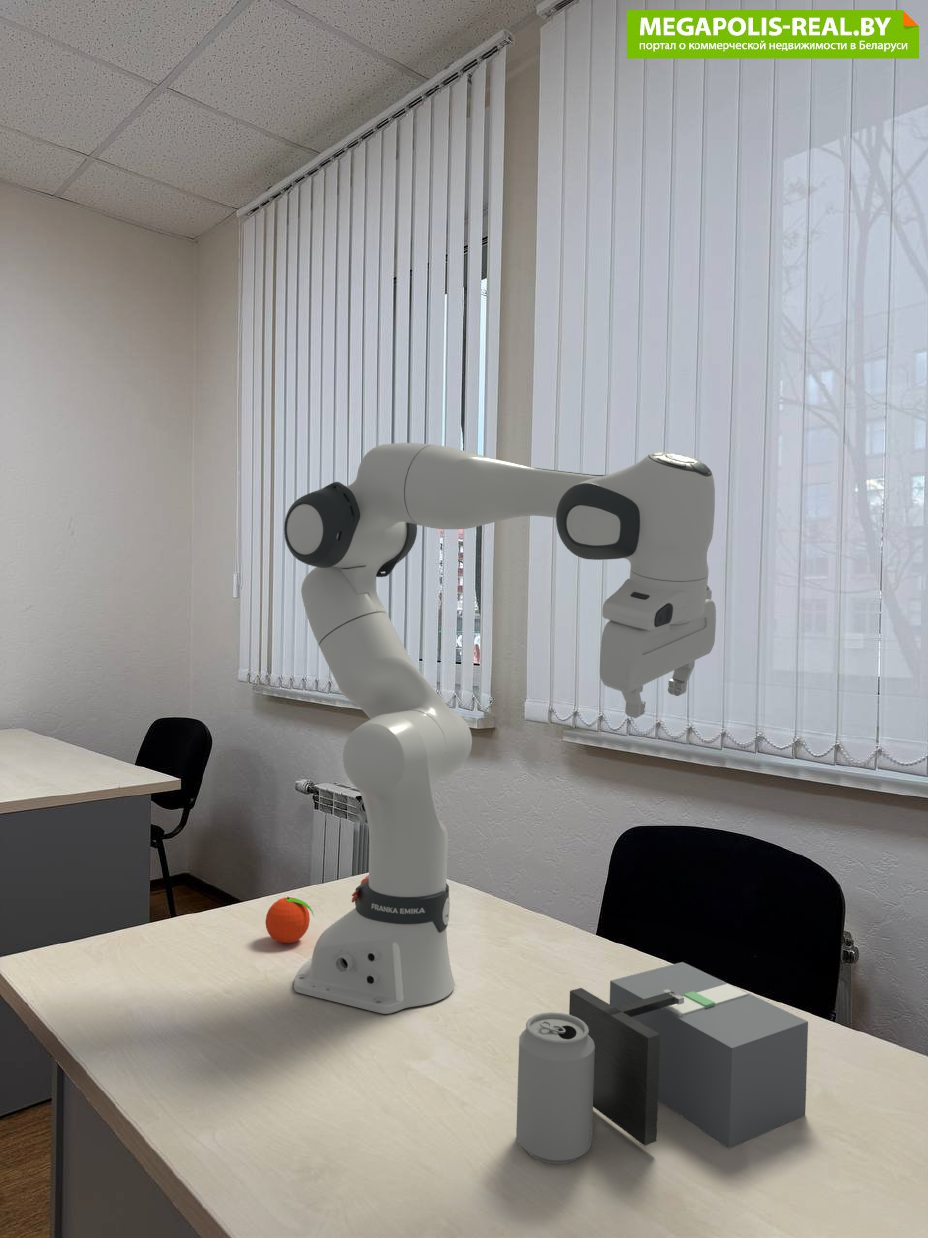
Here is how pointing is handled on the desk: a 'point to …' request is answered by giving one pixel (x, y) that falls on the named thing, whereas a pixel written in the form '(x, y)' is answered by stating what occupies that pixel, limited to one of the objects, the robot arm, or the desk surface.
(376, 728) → the robot arm
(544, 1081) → the can
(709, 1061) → the gauge housing
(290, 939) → the clementine
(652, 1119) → the gauge plunger
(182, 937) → the desk surface
